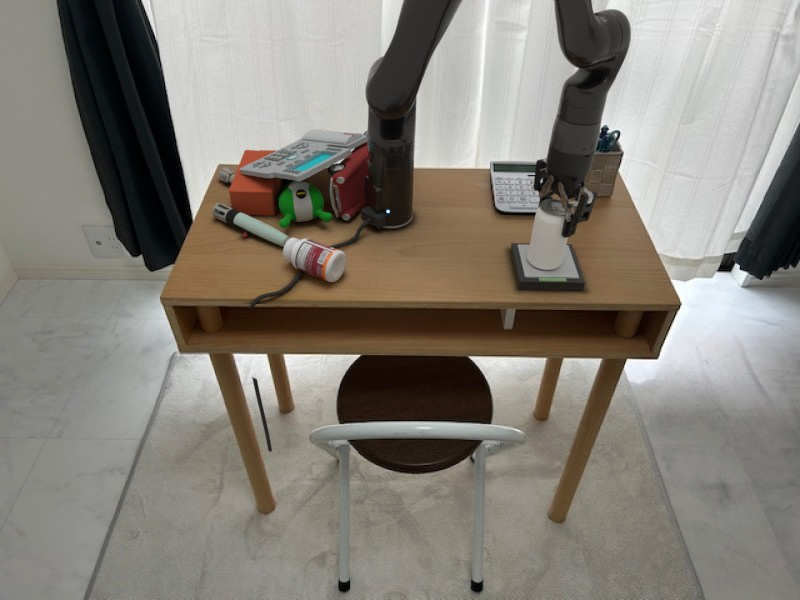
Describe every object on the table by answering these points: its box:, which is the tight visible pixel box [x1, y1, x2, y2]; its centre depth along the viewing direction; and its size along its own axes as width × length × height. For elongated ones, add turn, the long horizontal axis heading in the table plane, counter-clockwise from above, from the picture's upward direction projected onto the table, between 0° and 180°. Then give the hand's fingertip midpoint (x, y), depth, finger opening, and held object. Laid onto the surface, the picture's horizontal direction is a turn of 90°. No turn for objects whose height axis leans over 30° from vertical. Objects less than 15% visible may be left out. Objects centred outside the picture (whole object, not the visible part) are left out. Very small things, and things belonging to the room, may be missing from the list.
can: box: [527, 198, 573, 270], centre depth 113 cm, size 6×6×12 cm
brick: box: [228, 149, 283, 217], centre depth 136 cm, size 18×9×6 cm, turn 0°
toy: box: [277, 180, 333, 229], centre depth 130 cm, size 11×8×15 cm
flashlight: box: [211, 202, 291, 248], centre depth 126 cm, size 3×4×20 cm
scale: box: [509, 242, 586, 292], centre depth 118 cm, size 12×12×2 cm
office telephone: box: [240, 129, 367, 182], centre depth 132 cm, size 23×3×20 cm
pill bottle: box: [282, 237, 347, 283], centre depth 116 cm, size 6×6×11 cm
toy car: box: [327, 130, 368, 221], centre depth 135 cm, size 11×25×10 cm
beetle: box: [218, 167, 237, 187], centre depth 140 cm, size 4×7×3 cm, turn 70°
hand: (555, 225), depth 112 cm, fingers closed on can, 6 cm apart
